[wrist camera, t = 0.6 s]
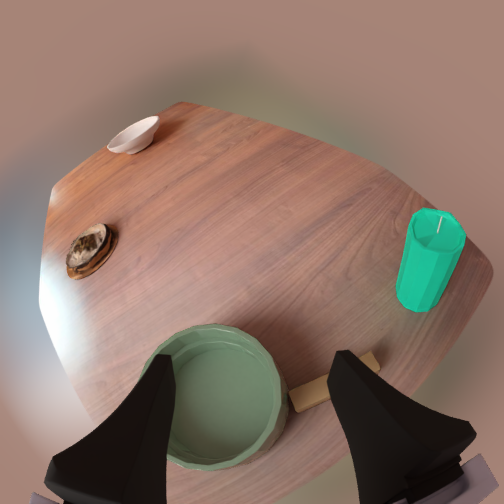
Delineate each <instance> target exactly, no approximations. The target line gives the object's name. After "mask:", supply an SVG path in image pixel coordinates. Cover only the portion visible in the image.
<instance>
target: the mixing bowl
mask: <svg viewBox="0 0 504 504" xmlns="http://www.w3.org/2000/svg"><path fill="white" fill-rule="evenodd" d="M156 354H167V355H171V358H172V364H173V371H174V377H175V382H176V397H175V408H174V414H173V420H172V425H171V431H170V437H169V443H168V450H167V459H168V460H169V461H171V462H174V463H176V464H178V465H180V466H182V467H184V468H187V469H195V470H204V471H216V470H224V469H230V468H234V467H238V466H242V465H246V464H249V463H251V462H252V461H254V460H255V459H257V458H258V457H260V456H261V455H263V454H264V453H266V452H267V451H268V450H270V448H271V447H272V446H273V444H274V443H275V442H276V440H277V439H278V438H279V436H280V435H281V434H282V432H283V429H284V426H285V423H286V420H287V416H288V413H289V394H288V386H287V384H286V381H285V379H284V376H283V374H282V372H281V369H280V367H279V366H278V365H277V363H276V362H275V360H274V359H273V357H272V356H271V354H270V353H269V352H268V351H267V350H266V349H265V348H264V347H263V346H262V344H261V343H260V342H259V341H258V340H257V339H256V338H255V337H253V336H251V335H249V334H247V333H246V332H244V331H242V330H240V329H238V328H236V327H231V326H226V325H221V324H207V325H197V326H193V327H190V328H188V329H185V330H183V331H180V332H178V333H176V334H174V335H173V336H172V337H170V338H169V339H168V340H166V341H165V342H164V343H162V344H161V345H160V346H159V347H158V348H157V349H156V350H155V352H154V353H153V354H152V355H151V357H150V358H149V359H148V361H147V362H146V364H145V366H144V368H143V371H142V373H141V375H140V378H141V377H142V376H143V374H144V373H145V371H146V370H147V368H148V366H149V365H150V363H151V361H152V360H153V358H154V356H155V355H156ZM140 378H139V380H140ZM139 380H138V381H139Z"/></svg>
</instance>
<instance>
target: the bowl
mask: <svg viewBox="0 0 504 504" xmlns="http://www.w3.org/2000/svg"><path fill="white" fill-rule="evenodd" d="M159 123H160V120H159V117H158V116H152V117H148V118H145V119H143V120H141V121H138V122H136V123H134V124H133V125H131V126H129V127H128V128H126V129H124V130H123V131H122V132H120V133H119V134H118V135H117V136H115V137H114V138H113V139H112V140H111V141H110V143H109V144H108V146H107V148H108V149H109V150H110V151H112V152H115V153H120V152H125V153H127V154H134V153H136V152H139V151H141V150H142V149H144V148H145V147H147V146H148V145H149V144H150V143H151V142H152V141H153V136H154V133H155V132H156V130H157V129H158V127H159Z"/></svg>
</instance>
